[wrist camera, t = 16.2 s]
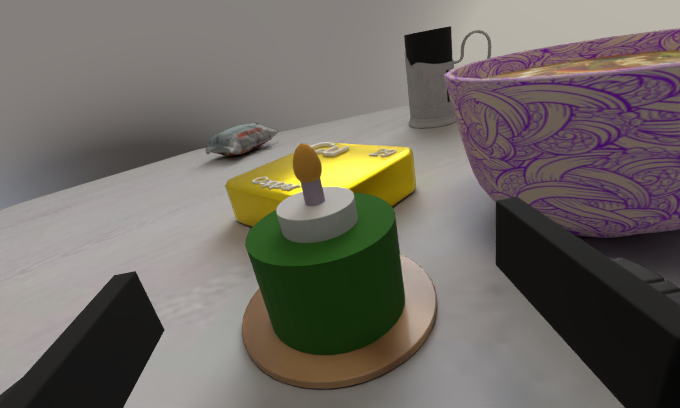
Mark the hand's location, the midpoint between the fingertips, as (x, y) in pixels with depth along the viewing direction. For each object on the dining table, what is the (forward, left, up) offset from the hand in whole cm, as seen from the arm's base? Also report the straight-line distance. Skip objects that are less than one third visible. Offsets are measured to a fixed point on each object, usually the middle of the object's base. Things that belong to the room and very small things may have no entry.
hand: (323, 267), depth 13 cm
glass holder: (-45, -31, -8) cm, 55 cm away
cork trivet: (-3, -6, -7) cm, 10 cm away
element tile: (-12, -20, -8) cm, 25 cm away
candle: (-3, -6, -7) cm, 10 cm away
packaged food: (-16, -56, -8) cm, 59 cm away
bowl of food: (-23, 0, -8) cm, 24 cm away
